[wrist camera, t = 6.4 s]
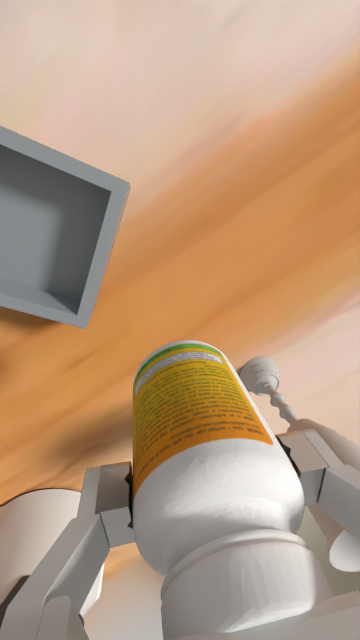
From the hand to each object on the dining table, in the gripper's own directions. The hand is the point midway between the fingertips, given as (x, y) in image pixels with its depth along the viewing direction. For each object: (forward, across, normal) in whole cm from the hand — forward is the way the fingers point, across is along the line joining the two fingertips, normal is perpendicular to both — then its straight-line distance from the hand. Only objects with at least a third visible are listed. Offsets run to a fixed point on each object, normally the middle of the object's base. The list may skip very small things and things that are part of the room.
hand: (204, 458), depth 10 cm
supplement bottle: (+5, 0, 0) cm, 5 cm away
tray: (+19, +10, -8) cm, 23 cm away
